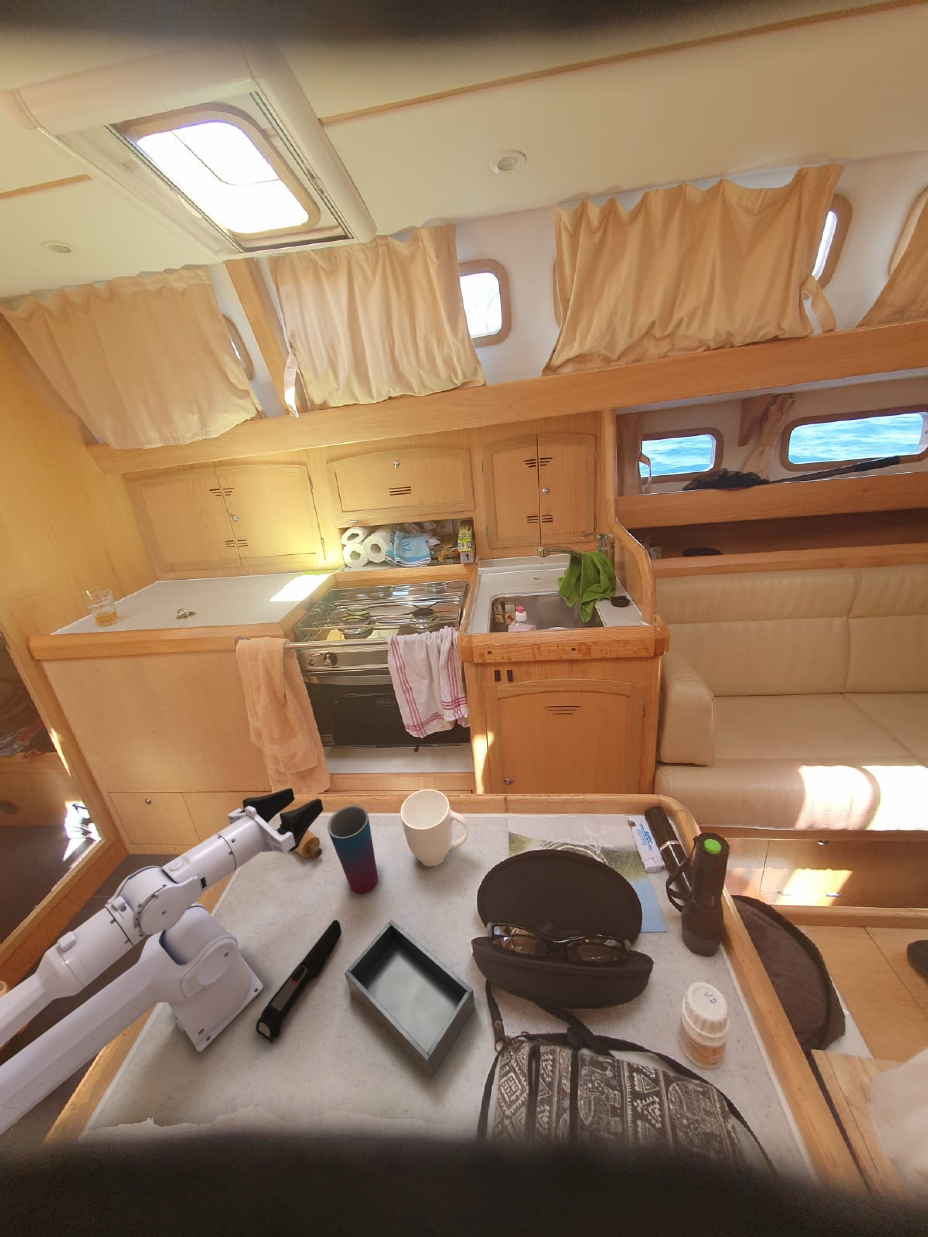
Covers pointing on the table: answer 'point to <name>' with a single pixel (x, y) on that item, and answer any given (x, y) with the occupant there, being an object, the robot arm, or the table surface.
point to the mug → (430, 826)
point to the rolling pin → (309, 846)
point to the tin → (411, 996)
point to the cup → (354, 847)
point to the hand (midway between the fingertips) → (306, 798)
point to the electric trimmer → (297, 983)
